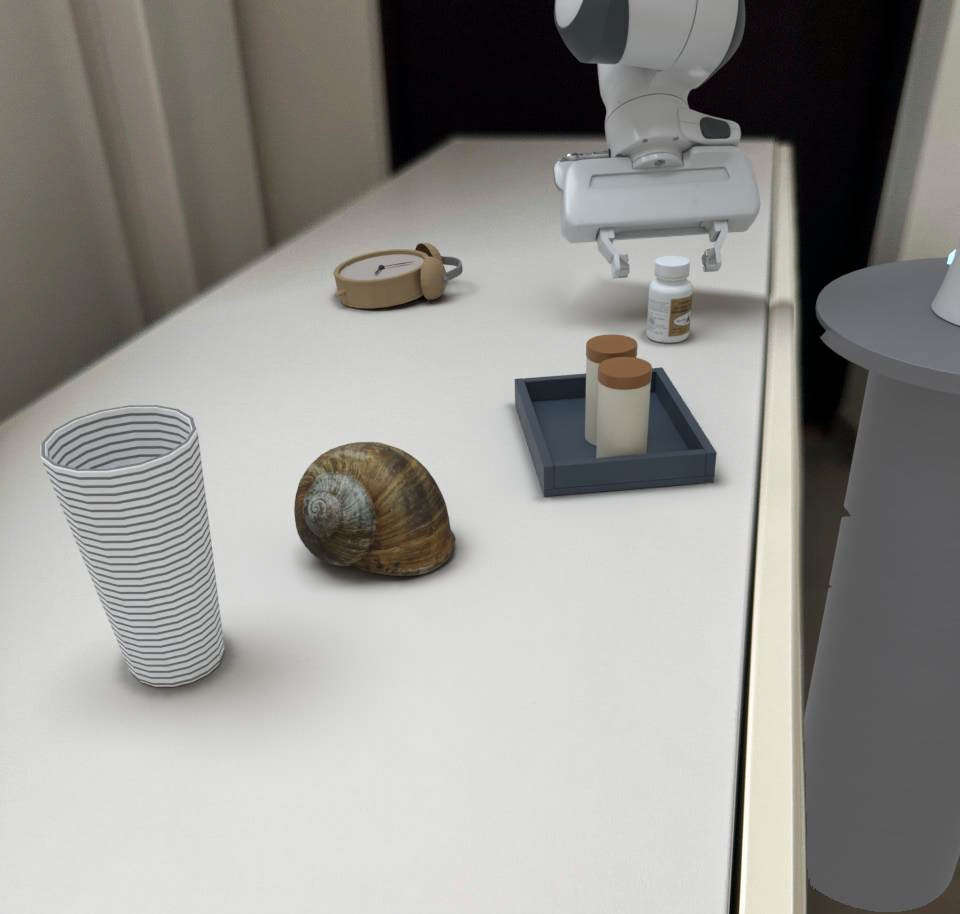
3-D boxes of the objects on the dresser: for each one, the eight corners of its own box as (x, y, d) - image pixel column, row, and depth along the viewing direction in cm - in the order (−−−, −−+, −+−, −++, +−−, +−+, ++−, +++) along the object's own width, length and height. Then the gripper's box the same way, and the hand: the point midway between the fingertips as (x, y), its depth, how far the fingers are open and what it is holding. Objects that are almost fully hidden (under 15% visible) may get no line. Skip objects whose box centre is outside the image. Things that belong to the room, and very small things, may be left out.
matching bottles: (627, 425, 91) (631, 332, 86) (651, 473, 84) (657, 374, 79) (580, 428, 91) (581, 336, 86) (600, 477, 83) (603, 379, 79)
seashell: (278, 575, 75) (260, 473, 70) (334, 512, 82) (320, 416, 77) (426, 598, 72) (417, 493, 67) (471, 530, 79) (466, 432, 74)
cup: (94, 648, 68) (24, 427, 59) (219, 607, 72) (171, 392, 63) (129, 719, 62) (57, 486, 53) (264, 671, 66) (218, 443, 57)
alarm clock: (330, 258, 126) (451, 226, 125) (342, 298, 129) (461, 267, 128) (331, 288, 117) (461, 253, 116) (343, 330, 120) (471, 297, 119)
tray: (660, 394, 97) (662, 367, 96) (713, 482, 83) (717, 452, 82) (515, 405, 97) (514, 378, 95) (543, 496, 82) (543, 466, 81)
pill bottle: (679, 346, 107) (684, 269, 102) (639, 340, 109) (643, 263, 104) (695, 332, 110) (702, 256, 105) (656, 326, 112) (661, 251, 107)
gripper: (554, 134, 105) (569, 263, 103) (755, 122, 106) (774, 249, 104) (547, 172, 111) (562, 294, 109) (737, 160, 113) (754, 280, 110)
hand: (667, 272), depth 107 cm, fingers open, 8 cm apart
